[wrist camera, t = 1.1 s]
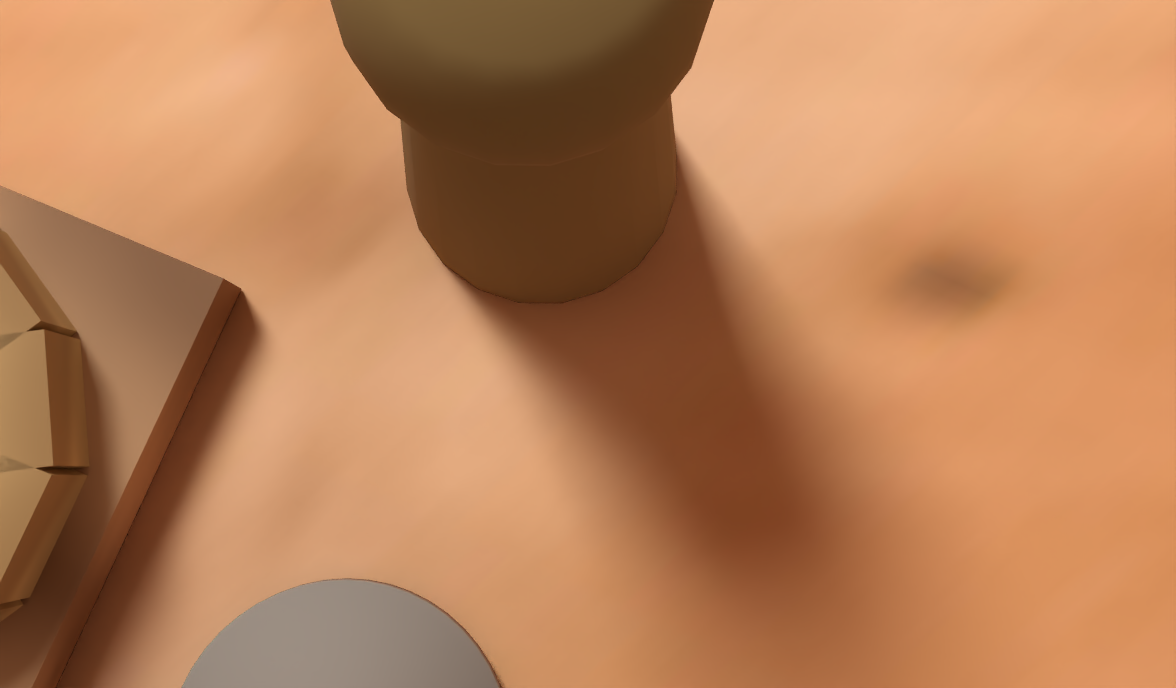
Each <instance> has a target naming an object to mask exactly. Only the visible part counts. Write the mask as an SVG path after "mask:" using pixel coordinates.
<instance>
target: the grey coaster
mask: <svg viewBox="0 0 1176 688" xmlns="http://www.w3.org/2000/svg"><path fill="white" fill-rule="evenodd" d="M182 688H501V687H500V684H499V682H498V679H497V677H496V675H495V673H494V671H493V669H492V667H491V664H490V663H489V661H488V660H487V658H486V656H485V655H484V653H483V652H482V650H481V649H480V647H479V645H478V644H477V643H476V642H475V641H474V639H473V638H472V637H471V636H470V635H469V633H468V632H467V631H466V630H465V629H464V628H463V627H462V626H461V625H460V624H459V623H458V622H457V621H456V620H455V619H453V618H452V617H451V616H450V615H449V614H448V613H446V612H445V611H444V610H442V609H441V608H439V607H438V606H436V605H435V604H433V603H432V602H431V601H429V600H427V599H425V598H423V597H421V596H419V595H417V594H415V593H413V592H411V591H408V590H405V589H402V588H400V587H397V586H394V585H391V584H387V583H382V582H377V581H372V580H362V579H332V580H323V581H318V582H313V583H308V584H303V585H300V586H298V587H295V588H292V589H289V590H286V591H283V592H280V593H278V594H276V595H274V596H272V597H270V598H268V599H266V600H264V601H262V602H260V603H258V604H256V605H255V606H253V607H251V608H250V609H248V610H247V611H245V612H244V613H242V614H241V615H239V616H238V617H237V618H236V619H235V620H233V621H232V622H231V623H230V624H229V625H228V626H226V627H225V628H224V629H223V630H222V631H221V632H220V633H219V634H218V635H217V636H216V637H215V638H214V639H213V641H212V642H211V643H210V644H209V645H208V646H207V647H206V648H205V650H204V651H203V653H202V654H201V655H200V657H199V658H198V660H197V661H196V663H195V664H194V666H193V667H192V669H191V670H190V672H189V674H188V676H187V678H186V680H185V682H184V684H183V686H182Z"/></svg>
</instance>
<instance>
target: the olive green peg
mask: <svg viewBox="0 0 1176 688" xmlns="http://www.w3.org/2000/svg"><path fill="white" fill-rule="evenodd" d="M330 1H331V4H332V7H333V11H334V14H335V17H336V21H337V24H338V27H339V31H340V34H341V37H342V41H343V44H344V46H345V48H346V50H347V52H348V53H349V55H350V57H351V59H352V60H353V62H354V64H355V65H356V66H357V68H358V69H359V71H360V72H361V73H362V75H363V76H364V78H365V79H366V81H367V82H368V83H369V85H370V86H371V88H372V89H373V90H374V92H375V93H376V95H377V96H378V97H379V99H380V100H381V102H382V103H383V104H384V106H385V107H386V109H387V110H389V111H390V112H391V113H393V114H394V115H395V116H397V117H398V118H400V119H401V130H402V141H403V152H404V163H405V174H406V185H407V191H408V194H409V198H410V201H411V204H412V208H413V211H414V214H415V218H416V221H417V224H418V228H419V230H420V231H421V233H422V234H423V236H424V237H425V238H426V240H427V241H428V243H429V244H430V245H431V247H432V248H433V250H434V251H435V252H436V254H437V255H438V257H439V258H440V260H441V261H442V262H443V264H445V265H446V266H447V267H449V268H450V269H451V270H453V271H454V272H455V273H457V274H458V275H460V276H461V277H462V278H464V279H465V280H466V281H468V282H469V283H470V284H472V285H473V286H474V287H476V288H477V289H480V290H483V291H486V292H489V293H492V294H495V295H498V296H500V297H503V298H506V299H509V300H512V301H515V302H518V303H563V302H567V301H570V300H573V299H576V298H580V297H583V296H586V295H589V294H593V293H596V292H599V291H602V290H604V289H606V288H607V287H608V286H610V285H611V284H613V283H614V282H616V281H617V280H618V279H620V278H621V277H623V276H624V275H626V274H627V273H628V272H630V271H631V270H633V269H634V268H636V267H637V266H638V265H639V264H640V262H641V261H642V260H643V258H644V257H645V256H646V254H647V253H648V252H649V250H650V249H651V248H652V246H653V245H654V244H655V242H656V241H657V240H658V238H659V237H660V236H661V234H662V233H663V231H664V228H665V225H666V222H667V219H668V216H669V213H670V210H671V207H672V204H673V201H674V198H675V195H676V145H675V134H674V124H673V114H672V104H671V94H672V92H673V91H674V90H675V88H676V87H677V86H678V84H679V83H680V82H681V80H682V79H683V78H684V77H685V75H686V74H687V73H688V71H689V70H690V69H691V67H692V64H693V61H694V58H695V55H696V52H697V49H698V46H699V43H700V40H701V37H702V34H703V31H704V28H705V25H706V22H707V19H708V16H709V13H710V10H711V7H712V5H713V2H714V0H330Z"/></svg>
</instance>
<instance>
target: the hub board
mask: <svg viewBox="0 0 1176 688" xmlns="http://www.w3.org/2000/svg"><path fill="white" fill-rule="evenodd" d="M240 291H241V288H239V287H237V286H235V285H234V284H232V283H230V282H228V281H227V280H225V279H223V278H221V277H218V276H216V275H213V274H211V273H209V272H206V271H204V270H201V269H199V268H197V267H194V266H192V265H189V264H187V263H185V262H182V261H180V260H177V259H175V258H173V257H170V256H168V255H165V254H163V253H161V252H158V251H156V250H153V249H151V248H149V247H146V246H144V245H141V244H139V243H137V242H134V241H132V240H129V239H127V238H125V237H122V236H120V235H117V234H115V233H113V232H110V231H108V230H105V229H103V228H101V227H98V226H96V225H93V224H91V223H89V222H86V221H84V220H81V219H79V218H77V217H74V216H72V215H69V214H67V213H65V212H62V211H60V210H57V209H55V208H53V207H50V206H48V205H45V204H43V203H41V202H38V201H36V200H34V199H31V198H29V197H26V196H24V195H22V194H19V193H17V192H14V191H12V190H10V189H7V188H5V187H2V186H0V688H56V686H57V684H58V681H59V679H60V677H61V675H62V673H63V671H64V669H65V666H66V664H67V662H68V660H69V658H70V656H71V654H72V651H73V649H74V647H75V645H76V643H77V641H78V639H79V636H80V634H81V632H82V630H83V628H84V626H85V624H86V621H87V619H88V617H89V615H90V613H91V611H92V609H93V606H94V604H95V602H96V600H97V598H98V596H99V593H100V591H101V589H102V587H103V585H104V583H105V581H106V578H107V576H108V574H109V572H110V570H111V568H112V566H113V563H114V561H115V559H116V557H117V555H118V553H119V551H120V548H121V546H122V544H123V542H124V540H125V538H126V536H127V533H128V531H129V529H130V527H131V525H132V523H133V521H134V518H135V516H136V514H137V512H138V510H139V508H140V505H141V503H142V501H143V499H144V497H145V495H146V493H147V490H148V488H149V486H150V484H151V482H152V480H153V478H154V475H155V473H156V471H157V469H158V467H159V465H160V463H161V460H162V458H163V456H164V454H165V452H166V450H167V448H168V445H169V443H170V441H171V439H172V437H173V435H174V433H175V430H176V428H177V426H178V424H179V422H180V420H181V417H182V415H183V413H184V411H185V409H186V407H187V405H188V402H189V400H190V398H191V396H192V394H193V392H194V390H195V387H196V385H197V383H198V381H199V379H200V377H201V375H202V372H203V370H204V368H205V366H206V364H207V362H208V360H209V357H210V355H211V353H212V351H213V349H214V347H215V345H216V342H217V340H218V338H219V336H220V334H221V332H222V329H223V327H224V325H225V323H226V321H227V319H228V317H229V314H230V312H231V310H232V308H233V306H234V304H235V302H236V299H237V297H238V295H239V293H240Z"/></svg>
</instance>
